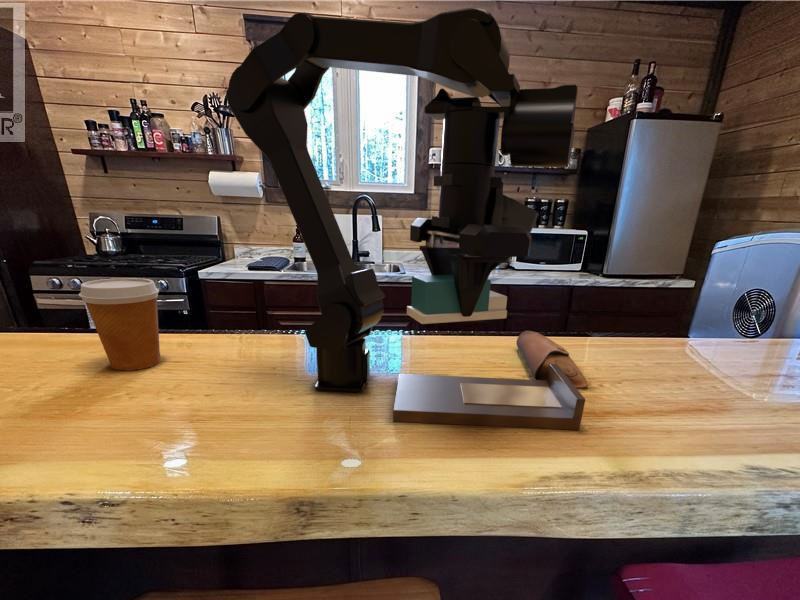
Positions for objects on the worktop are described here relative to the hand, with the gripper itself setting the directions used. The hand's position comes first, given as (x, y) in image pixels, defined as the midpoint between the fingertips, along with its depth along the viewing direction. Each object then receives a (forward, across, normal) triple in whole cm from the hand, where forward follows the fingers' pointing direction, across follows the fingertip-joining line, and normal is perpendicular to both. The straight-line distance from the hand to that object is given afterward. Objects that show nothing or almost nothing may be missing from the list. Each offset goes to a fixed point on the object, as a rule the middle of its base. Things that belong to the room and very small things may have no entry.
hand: (456, 311), depth 52 cm
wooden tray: (+12, -2, -4) cm, 13 cm away
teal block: (+1, 0, 0) cm, 1 cm away
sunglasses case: (+12, +8, -22) cm, 26 cm away
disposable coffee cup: (+12, +26, +40) cm, 49 cm away
